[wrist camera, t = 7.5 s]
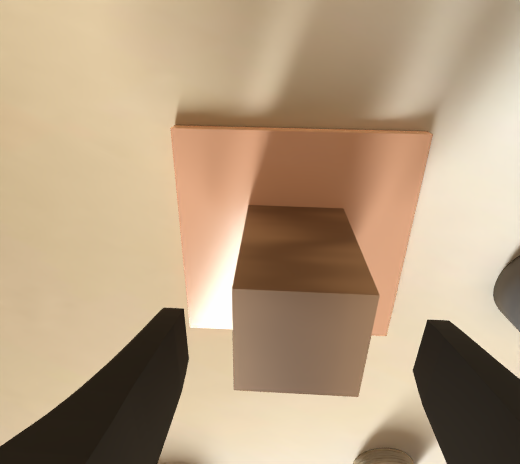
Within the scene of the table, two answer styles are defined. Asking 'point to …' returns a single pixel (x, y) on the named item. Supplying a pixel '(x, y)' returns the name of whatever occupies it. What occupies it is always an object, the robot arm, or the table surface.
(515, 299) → the black rubber puck
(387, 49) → the table surface
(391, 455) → the brushed metal tin
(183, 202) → the terracotta tile
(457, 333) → the robot arm
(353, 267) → the walnut block
